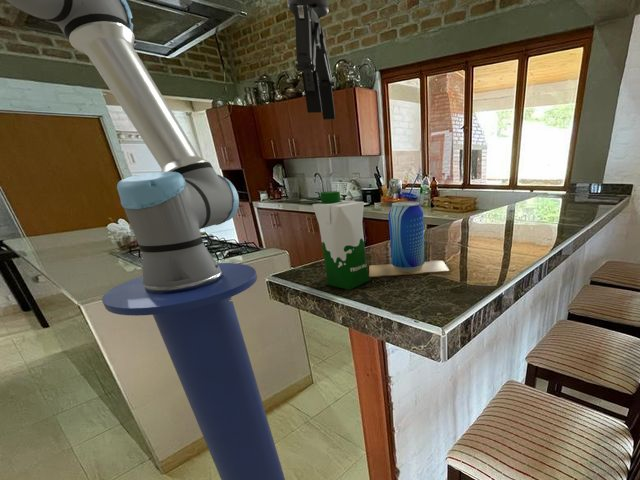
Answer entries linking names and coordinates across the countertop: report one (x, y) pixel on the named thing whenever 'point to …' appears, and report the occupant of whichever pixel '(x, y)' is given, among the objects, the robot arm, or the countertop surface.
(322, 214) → the milk carton
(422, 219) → the beer can
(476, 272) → the countertop surface
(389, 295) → the countertop surface
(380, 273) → the mat
